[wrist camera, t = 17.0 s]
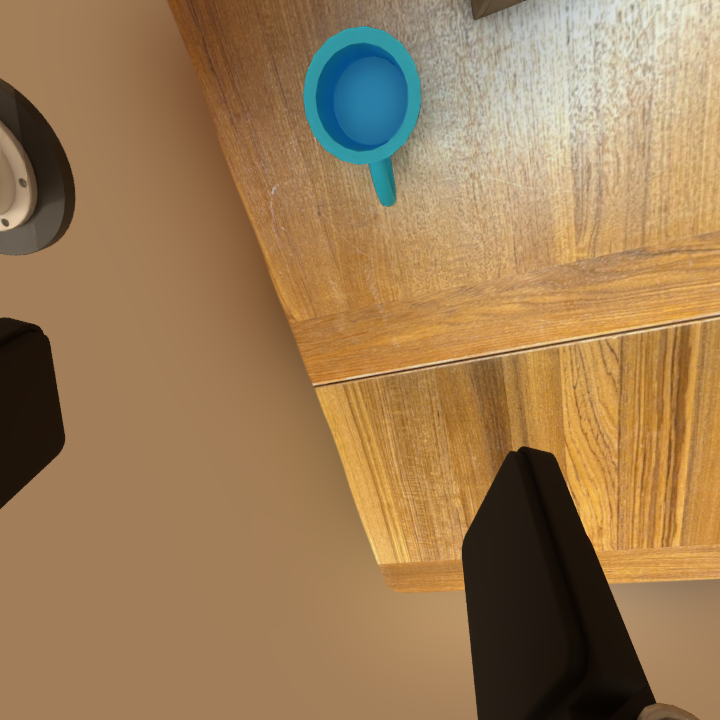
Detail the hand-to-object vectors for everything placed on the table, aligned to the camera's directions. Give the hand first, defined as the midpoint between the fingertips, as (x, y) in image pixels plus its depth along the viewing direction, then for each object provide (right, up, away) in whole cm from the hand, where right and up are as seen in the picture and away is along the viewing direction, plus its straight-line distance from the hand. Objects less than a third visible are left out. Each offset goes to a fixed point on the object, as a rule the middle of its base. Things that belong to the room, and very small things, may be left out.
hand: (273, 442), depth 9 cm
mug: (+3, +22, +29) cm, 37 cm away
